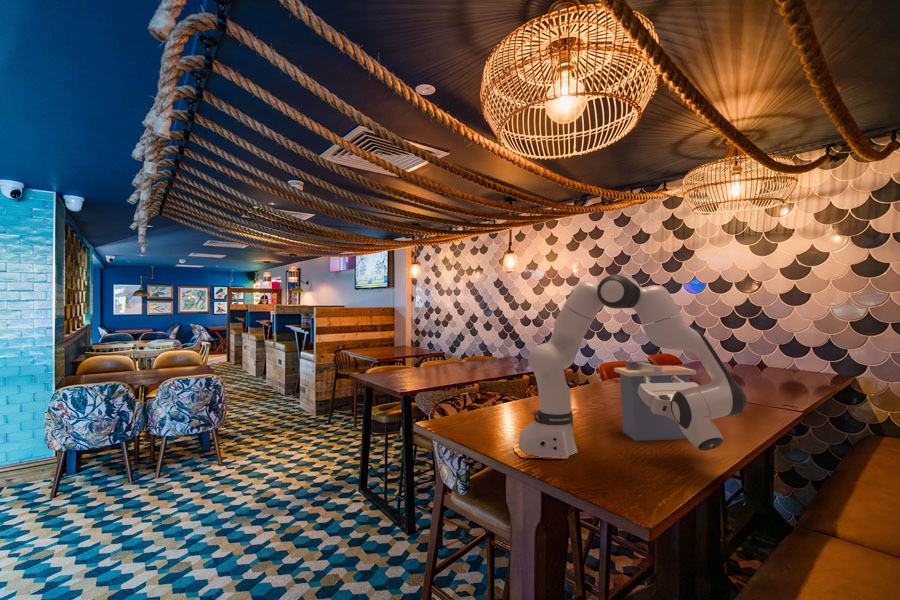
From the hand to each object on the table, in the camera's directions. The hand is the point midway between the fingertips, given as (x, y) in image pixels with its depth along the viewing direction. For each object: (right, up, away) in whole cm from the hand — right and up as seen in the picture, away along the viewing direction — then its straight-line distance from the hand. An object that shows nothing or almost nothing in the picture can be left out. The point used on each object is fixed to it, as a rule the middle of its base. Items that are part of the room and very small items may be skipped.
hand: (659, 377), depth 133 cm
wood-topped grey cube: (+7, -26, +14) cm, 30 cm away
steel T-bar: (0, 0, +9) cm, 9 cm away
